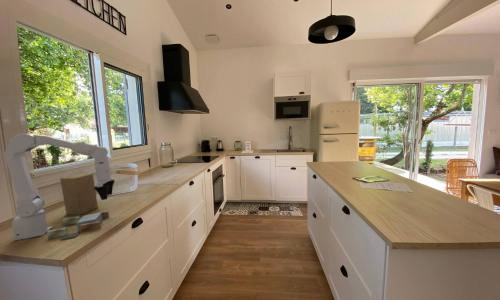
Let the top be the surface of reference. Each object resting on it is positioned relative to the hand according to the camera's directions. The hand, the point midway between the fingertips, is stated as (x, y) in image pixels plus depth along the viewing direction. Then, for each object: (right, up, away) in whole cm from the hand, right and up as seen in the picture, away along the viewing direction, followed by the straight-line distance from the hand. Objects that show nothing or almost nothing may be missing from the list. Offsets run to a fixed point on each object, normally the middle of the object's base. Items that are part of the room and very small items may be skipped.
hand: (107, 197), depth 100 cm
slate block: (-2, -12, -7) cm, 14 cm away
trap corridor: (-6, -12, -8) cm, 15 cm away
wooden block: (-22, -11, +11) cm, 26 cm away
